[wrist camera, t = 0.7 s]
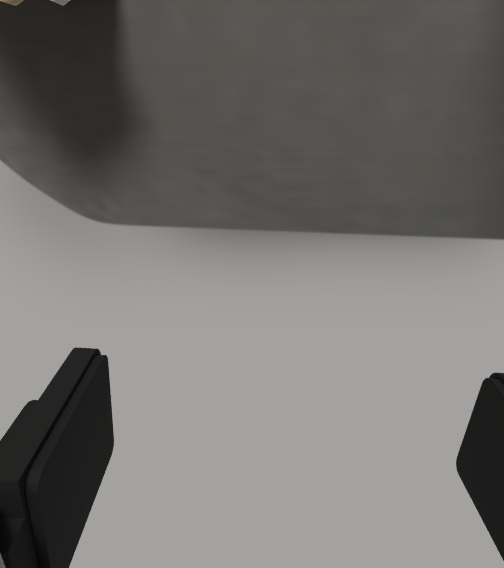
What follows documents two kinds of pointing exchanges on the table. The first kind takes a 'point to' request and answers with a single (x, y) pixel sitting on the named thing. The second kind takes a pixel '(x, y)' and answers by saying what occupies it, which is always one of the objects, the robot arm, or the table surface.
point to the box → (61, 2)
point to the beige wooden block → (12, 2)
